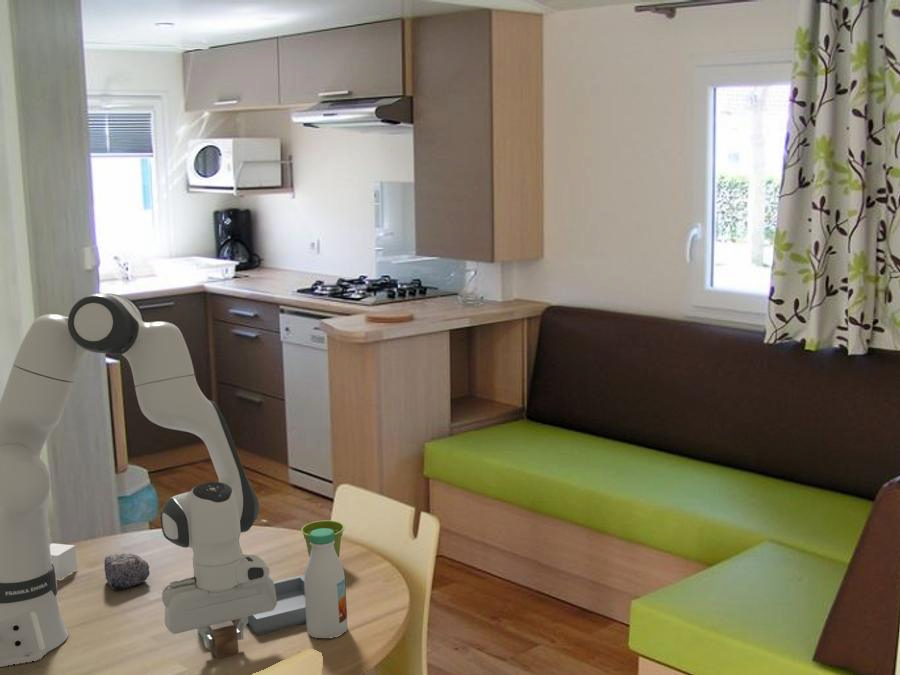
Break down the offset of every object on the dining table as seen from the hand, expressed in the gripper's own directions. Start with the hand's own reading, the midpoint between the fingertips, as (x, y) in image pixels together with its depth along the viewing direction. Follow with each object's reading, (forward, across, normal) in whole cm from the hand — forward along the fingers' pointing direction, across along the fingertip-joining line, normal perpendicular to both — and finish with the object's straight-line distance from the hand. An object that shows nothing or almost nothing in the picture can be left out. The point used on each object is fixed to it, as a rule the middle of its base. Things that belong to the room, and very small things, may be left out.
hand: (224, 642), depth 200 cm
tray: (+2, +15, +11) cm, 19 cm away
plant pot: (+2, +31, +28) cm, 42 cm away
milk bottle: (+2, +19, -2) cm, 20 cm away
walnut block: (+2, 0, 0) cm, 2 cm away
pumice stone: (+2, -9, +41) cm, 42 cm away
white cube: (+2, -21, +55) cm, 59 cm away
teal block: (+2, 0, +9) cm, 9 cm away
